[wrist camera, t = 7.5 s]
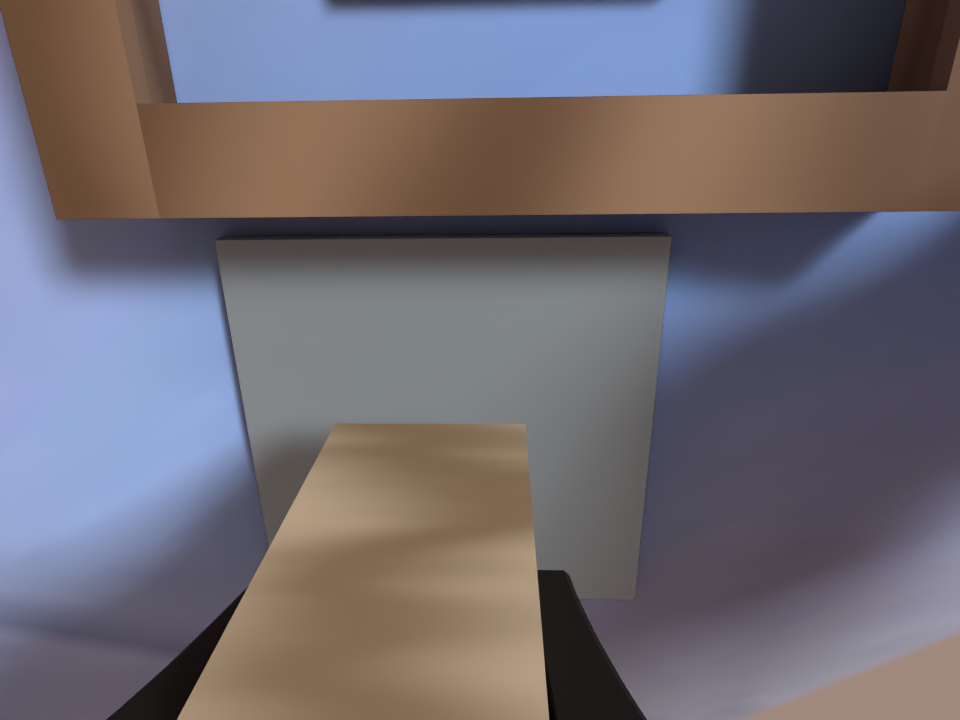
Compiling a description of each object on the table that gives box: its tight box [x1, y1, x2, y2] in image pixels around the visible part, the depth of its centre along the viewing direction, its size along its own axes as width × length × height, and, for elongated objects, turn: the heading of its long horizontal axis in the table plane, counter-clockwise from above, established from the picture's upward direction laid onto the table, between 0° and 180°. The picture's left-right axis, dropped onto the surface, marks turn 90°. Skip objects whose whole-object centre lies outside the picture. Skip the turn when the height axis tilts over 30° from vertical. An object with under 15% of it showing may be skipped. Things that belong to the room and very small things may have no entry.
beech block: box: [177, 423, 549, 720], centre depth 10 cm, size 4×4×7 cm
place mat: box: [214, 234, 672, 600], centre depth 17 cm, size 11×11×1 cm
